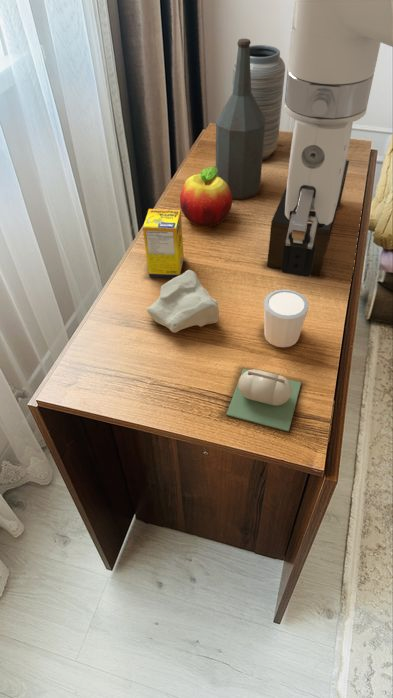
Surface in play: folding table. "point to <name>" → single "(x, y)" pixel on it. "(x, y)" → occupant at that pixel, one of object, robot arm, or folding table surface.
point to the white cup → (284, 317)
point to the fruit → (206, 198)
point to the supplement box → (163, 242)
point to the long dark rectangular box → (321, 237)
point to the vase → (267, 90)
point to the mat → (264, 409)
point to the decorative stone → (184, 304)
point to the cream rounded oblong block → (265, 387)
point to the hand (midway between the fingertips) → (303, 248)
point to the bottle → (240, 133)
